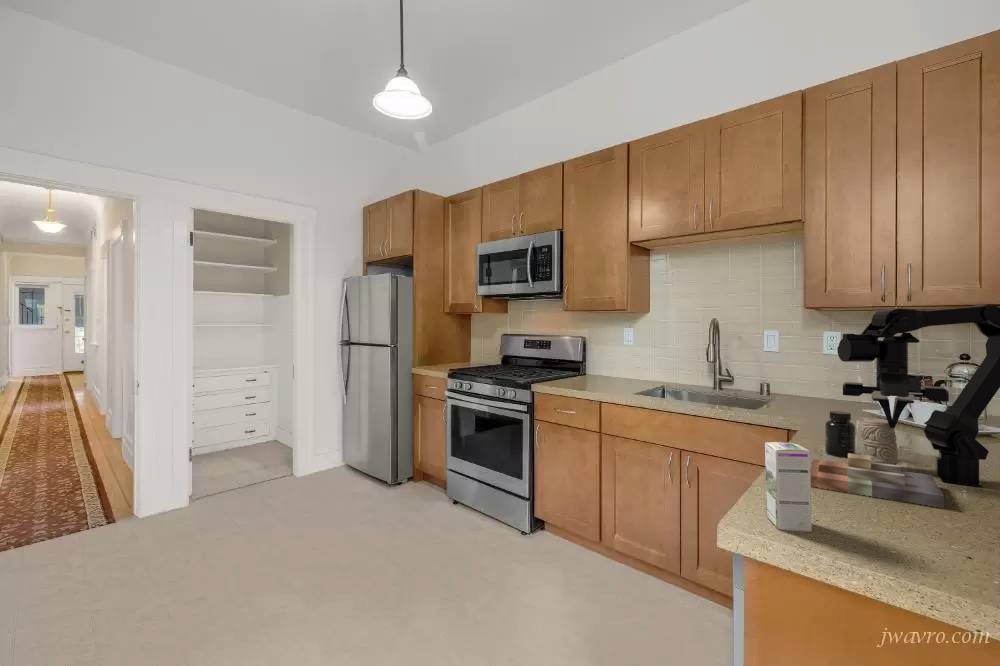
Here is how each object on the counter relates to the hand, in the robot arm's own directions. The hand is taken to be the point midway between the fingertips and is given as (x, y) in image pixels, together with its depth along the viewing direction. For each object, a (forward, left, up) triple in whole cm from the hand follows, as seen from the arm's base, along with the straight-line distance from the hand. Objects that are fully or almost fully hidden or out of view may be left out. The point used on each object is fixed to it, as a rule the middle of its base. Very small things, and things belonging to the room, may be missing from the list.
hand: (892, 427), depth 108 cm
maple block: (+6, +10, -10) cm, 15 cm away
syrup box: (+17, +44, -12) cm, 49 cm away
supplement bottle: (+10, -18, -12) cm, 24 cm away
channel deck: (+4, +10, -12) cm, 16 cm away
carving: (+2, -10, -12) cm, 16 cm away
